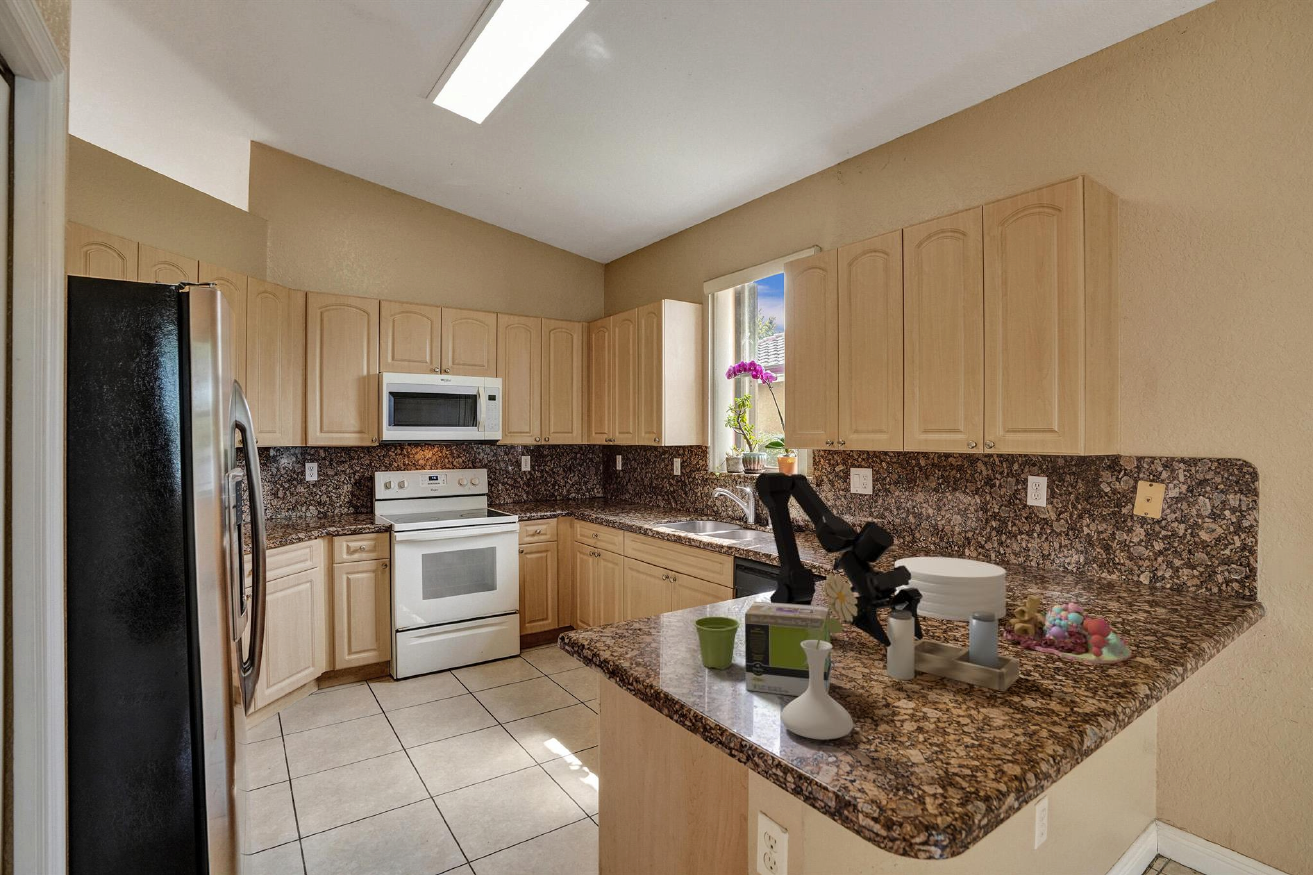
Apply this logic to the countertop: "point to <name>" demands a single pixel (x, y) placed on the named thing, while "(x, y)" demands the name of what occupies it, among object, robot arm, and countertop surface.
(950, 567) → the plate stack
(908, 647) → the cylinder
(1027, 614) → the multicoloured low bumpy piece
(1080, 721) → the countertop surface
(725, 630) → the plant pot
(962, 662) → the beech slot rack
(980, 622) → the blue shaker
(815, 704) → the flower in vase
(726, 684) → the countertop surface
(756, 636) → the tea box
